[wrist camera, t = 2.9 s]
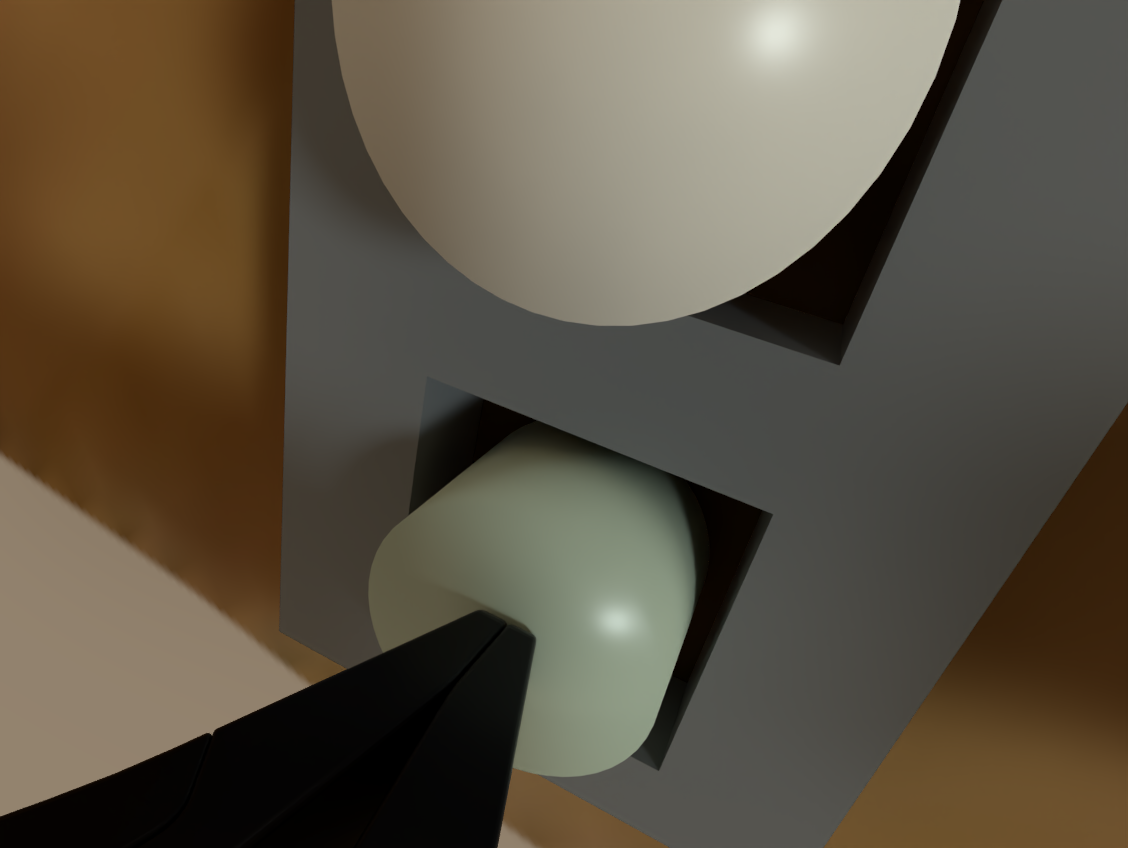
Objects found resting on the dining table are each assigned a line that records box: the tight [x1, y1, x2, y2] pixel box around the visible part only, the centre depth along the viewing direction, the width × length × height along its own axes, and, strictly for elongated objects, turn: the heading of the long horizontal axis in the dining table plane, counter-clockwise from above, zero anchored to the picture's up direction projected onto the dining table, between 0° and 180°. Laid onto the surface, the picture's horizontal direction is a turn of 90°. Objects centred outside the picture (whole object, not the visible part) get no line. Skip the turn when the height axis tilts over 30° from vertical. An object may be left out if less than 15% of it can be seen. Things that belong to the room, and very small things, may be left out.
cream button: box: [332, 0, 960, 326], centre depth 6 cm, size 4×4×3 cm
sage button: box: [368, 421, 710, 777], centre depth 10 cm, size 4×4×3 cm
